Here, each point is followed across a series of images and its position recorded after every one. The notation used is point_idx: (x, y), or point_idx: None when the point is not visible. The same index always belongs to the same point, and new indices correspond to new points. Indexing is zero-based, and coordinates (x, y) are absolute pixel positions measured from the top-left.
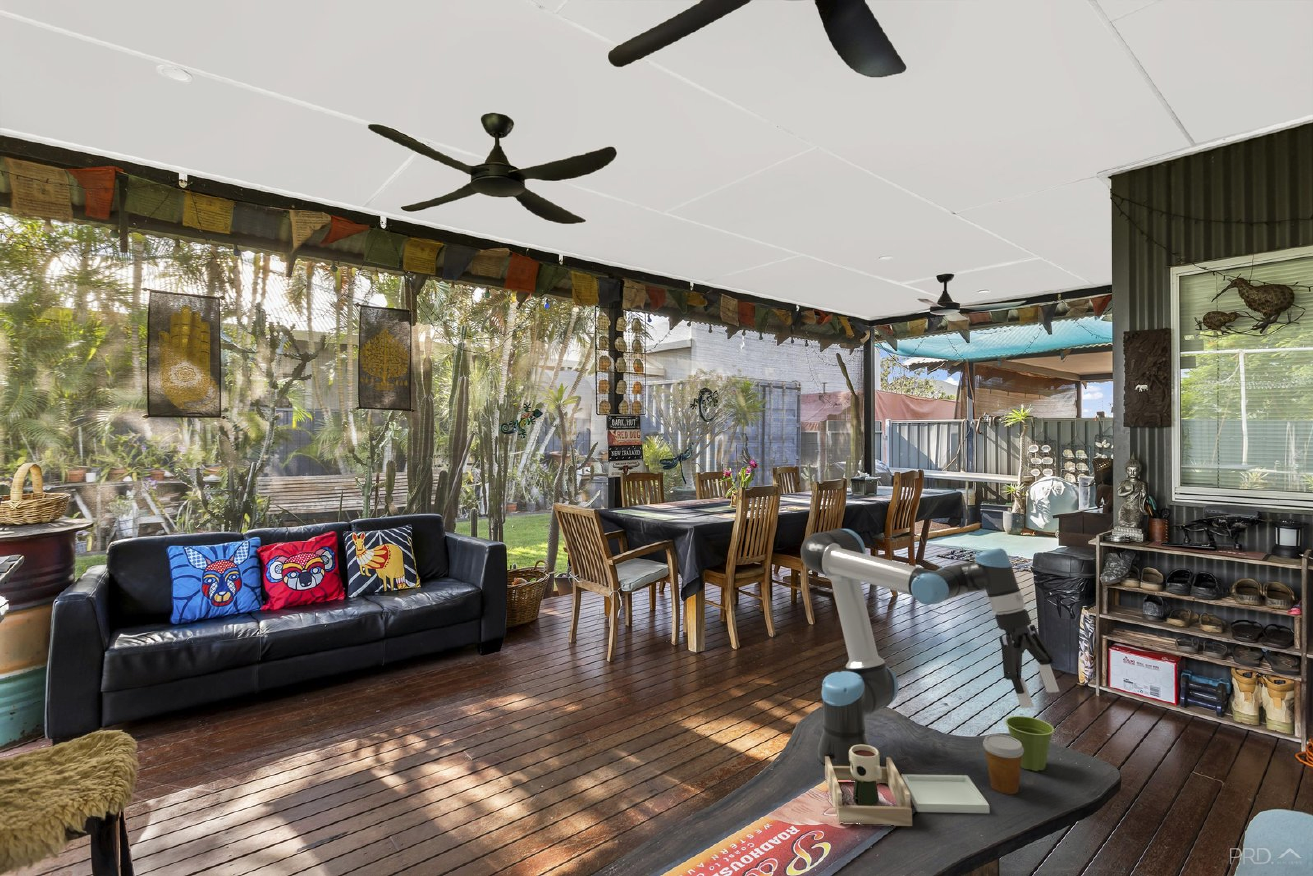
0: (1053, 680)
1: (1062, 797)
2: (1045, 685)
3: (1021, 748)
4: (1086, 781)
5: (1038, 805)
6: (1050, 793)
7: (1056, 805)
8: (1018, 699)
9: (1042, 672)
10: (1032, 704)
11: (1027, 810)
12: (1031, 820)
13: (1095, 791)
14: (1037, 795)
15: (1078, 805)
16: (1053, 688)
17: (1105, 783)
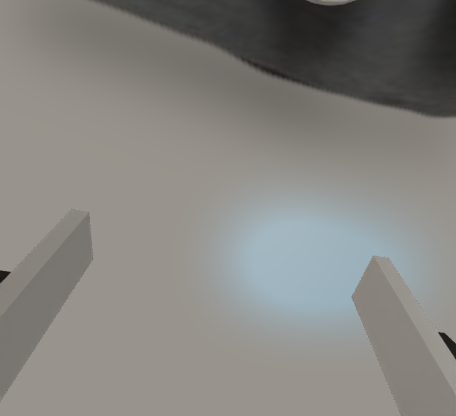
0: (374, 345)
1: (342, 55)
2: (385, 285)
3: (334, 1)
4: (449, 80)
5: (273, 20)
6: (350, 27)
7: (296, 53)
8: (48, 235)
9: (421, 362)
10: (84, 265)
11: (233, 4)
12: (196, 25)
13: (402, 102)
14: None
15: (321, 88)
16: (365, 299)
17: (450, 111)
